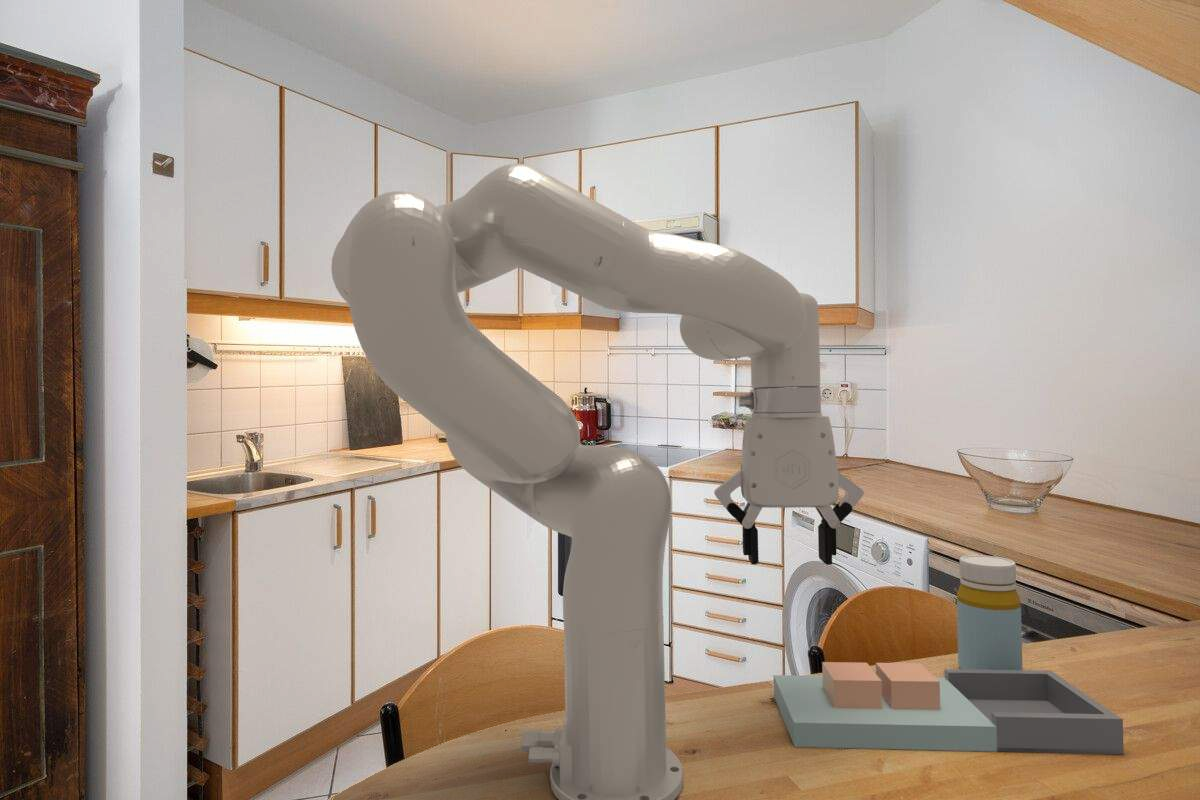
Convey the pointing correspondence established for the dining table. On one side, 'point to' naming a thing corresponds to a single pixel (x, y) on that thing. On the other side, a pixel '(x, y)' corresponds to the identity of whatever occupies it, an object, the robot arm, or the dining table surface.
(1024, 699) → the tray
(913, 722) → the pale green lid panel
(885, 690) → the tile
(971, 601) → the bottle
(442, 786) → the dining table surface
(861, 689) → the tile
